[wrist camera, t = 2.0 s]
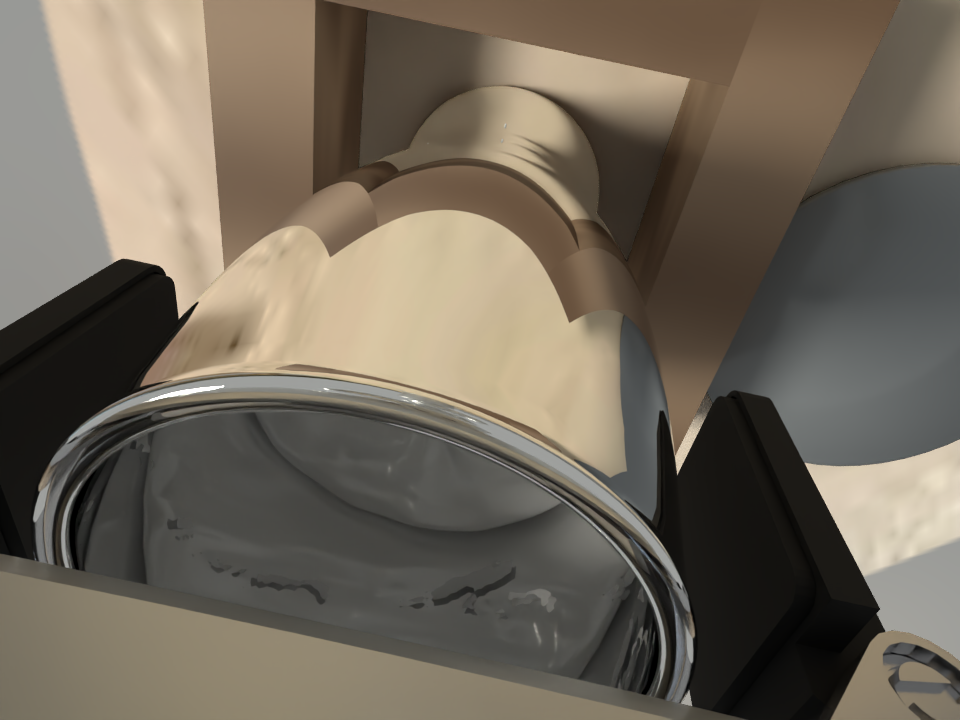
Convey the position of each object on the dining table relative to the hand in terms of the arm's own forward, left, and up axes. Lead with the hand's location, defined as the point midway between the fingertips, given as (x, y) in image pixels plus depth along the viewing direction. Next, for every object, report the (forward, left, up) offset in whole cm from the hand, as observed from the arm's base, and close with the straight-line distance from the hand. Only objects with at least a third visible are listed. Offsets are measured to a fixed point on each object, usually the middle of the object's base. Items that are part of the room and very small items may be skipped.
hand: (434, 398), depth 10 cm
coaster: (+1, +13, -10) cm, 17 cm away
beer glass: (-1, 0, -10) cm, 10 cm away
